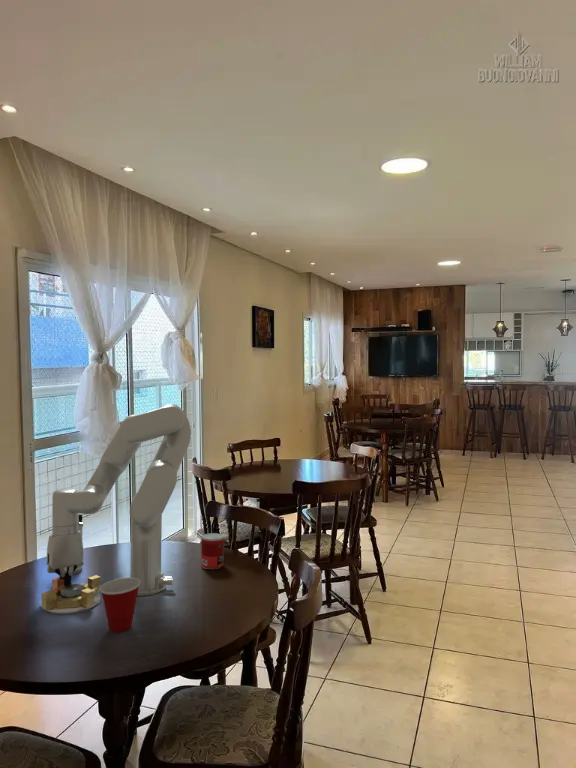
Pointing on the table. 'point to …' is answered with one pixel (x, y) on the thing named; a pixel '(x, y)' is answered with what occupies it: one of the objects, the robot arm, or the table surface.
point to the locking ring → (86, 598)
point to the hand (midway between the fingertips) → (65, 587)
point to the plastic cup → (120, 602)
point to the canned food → (212, 550)
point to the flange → (73, 592)
